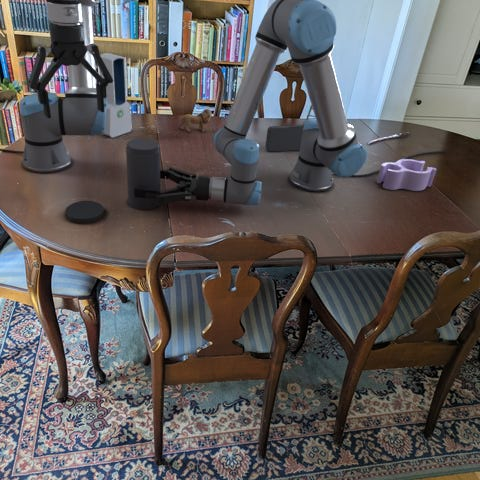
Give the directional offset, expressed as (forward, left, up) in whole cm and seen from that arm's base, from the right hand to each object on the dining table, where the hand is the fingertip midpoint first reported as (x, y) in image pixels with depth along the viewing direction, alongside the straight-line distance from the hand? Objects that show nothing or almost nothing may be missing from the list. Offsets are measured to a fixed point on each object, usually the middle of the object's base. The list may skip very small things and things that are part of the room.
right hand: (139, 182), depth 140 cm
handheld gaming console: (-69, -28, -7) cm, 75 cm away
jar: (-1, +1, -7) cm, 7 cm away
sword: (-122, -30, -7) cm, 126 cm away
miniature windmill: (-94, -52, -7) cm, 108 cm away
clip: (-96, +10, -7) cm, 97 cm away
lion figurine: (-37, -56, -7) cm, 68 cm away
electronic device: (-4, -59, -7) cm, 59 cm away
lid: (+17, +4, -5) cm, 18 cm away
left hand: (+17, +4, +23) cm, 29 cm away
